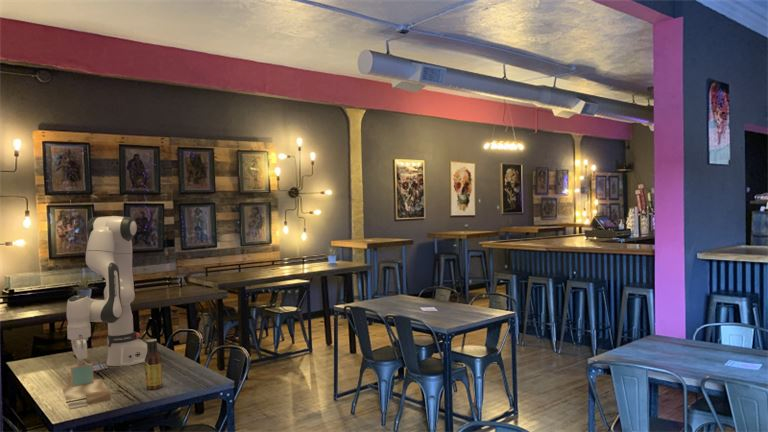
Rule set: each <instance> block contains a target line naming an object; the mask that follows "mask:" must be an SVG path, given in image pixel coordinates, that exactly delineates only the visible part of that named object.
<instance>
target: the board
mask: <svg viewBox="0 0 768 432" xmlns="http://www.w3.org/2000/svg"><path fill="white" fill-rule="evenodd" d="M61 388H62V392H63V395H64V398H65V400H66V402H65V404H70V403H75V402H80V401H85V400H86V394H88V393H93V392H98V391H103V390H108V387H107V386H106V384H105V382H104V380H103V378H96V379H94V383H91V384H86V385H80V386H75V387H72V383H70V384H69V383H68V384H65V385H61ZM73 399H74V400H73Z"/></svg>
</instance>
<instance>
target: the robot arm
mask: <svg viewBox="0 0 768 432" xmlns="http://www.w3.org/2000/svg"><path fill="white" fill-rule="evenodd" d="M85 229H86V233H87V236H89V237H88V241H87V244H86V250H85V251H86V252H85V264H86V266H87V267H88V268H89V269H90V270H91V271H92V272H95V273H97V274H99V275H101V276H102V277H103V278H104V280H105V287H104V290H103V297H104V299H94V298H91V297H89V296H88V295H87V294H86V293H85V294H76V295H72V296H71V297H69V298H68V299H67V302H66V320H67V326H66V330H67V331H66V332H67V340H70V343H71V347H72V351H73V354H74V355H75V356H76V360H77V366H79V365H84V360H86V359H88V342H87V341H89V338H90V337H91V336H92V332H91V331H92V328H91V327H92V326H91V325H92V324H91V322H94V323H106V324H107V335H106V336H107V338H106V339H107V340H106V341H107V342H106V343H107V347H108V349H107V350H108V351H107V360H106V364H105V365H106V366H109V367H124V366H126V367H129V366H133V365H137V364H141V363H145V357H146V354H147V342H145V341H143V340H142V339H139V338H140V337H141V333H139V332H137V331H134V317H133V313H132V307H131V303H133V301H134V299H135V297H136V294H135V292H136V291H135V285H134V274H133V243H132V242H133V241H132V239H133V238H134V237H135V236H136V235H137V231H138V225H137V221H136V220H135V219H134V218H133V217H129V216H119V215H118V216H117V215H111V216H94V217H91V218H90V219H89V220H88V221H87V223H86V228H85Z"/></svg>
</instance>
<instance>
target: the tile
mask: <svg viewBox="0 0 768 432" xmlns="http://www.w3.org/2000/svg"><path fill="white" fill-rule="evenodd" d="M70 374H71V376H70V377H71V384H72V387H75V386H80V385H86V384H91V383H94V380H95V379H94V364H93V363H92V362H91V363H87V364H83V365H79V366H78V365H75V366H71V367H70Z"/></svg>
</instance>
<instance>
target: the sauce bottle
mask: <svg viewBox="0 0 768 432" xmlns="http://www.w3.org/2000/svg"><path fill="white" fill-rule="evenodd" d="M146 343H147V354H146V357H145V362H144V371H145V373H144V374H145V385H146V389H147V390H157V389H160V388H161V387H162V386H163V371H162V369H163V368H162V359H161V358H162V357H161V353H160V352H159V351H158V339H157V338H151V339H148V340H147V339H146Z"/></svg>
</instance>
